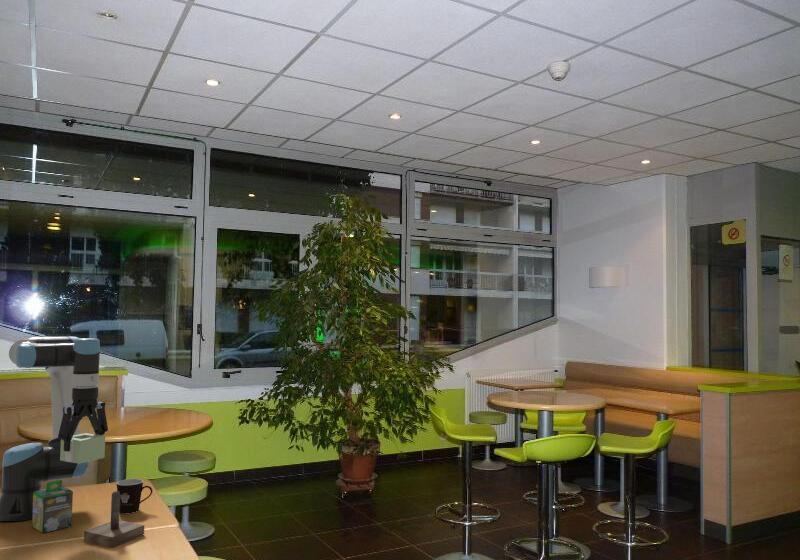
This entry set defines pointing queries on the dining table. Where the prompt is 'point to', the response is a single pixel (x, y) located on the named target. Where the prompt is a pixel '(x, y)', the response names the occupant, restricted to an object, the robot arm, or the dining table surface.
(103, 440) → the green square socket block
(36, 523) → the chalk box
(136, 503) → the coffee mug
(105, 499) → the dining table surface
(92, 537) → the rod stand
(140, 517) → the dining table surface
